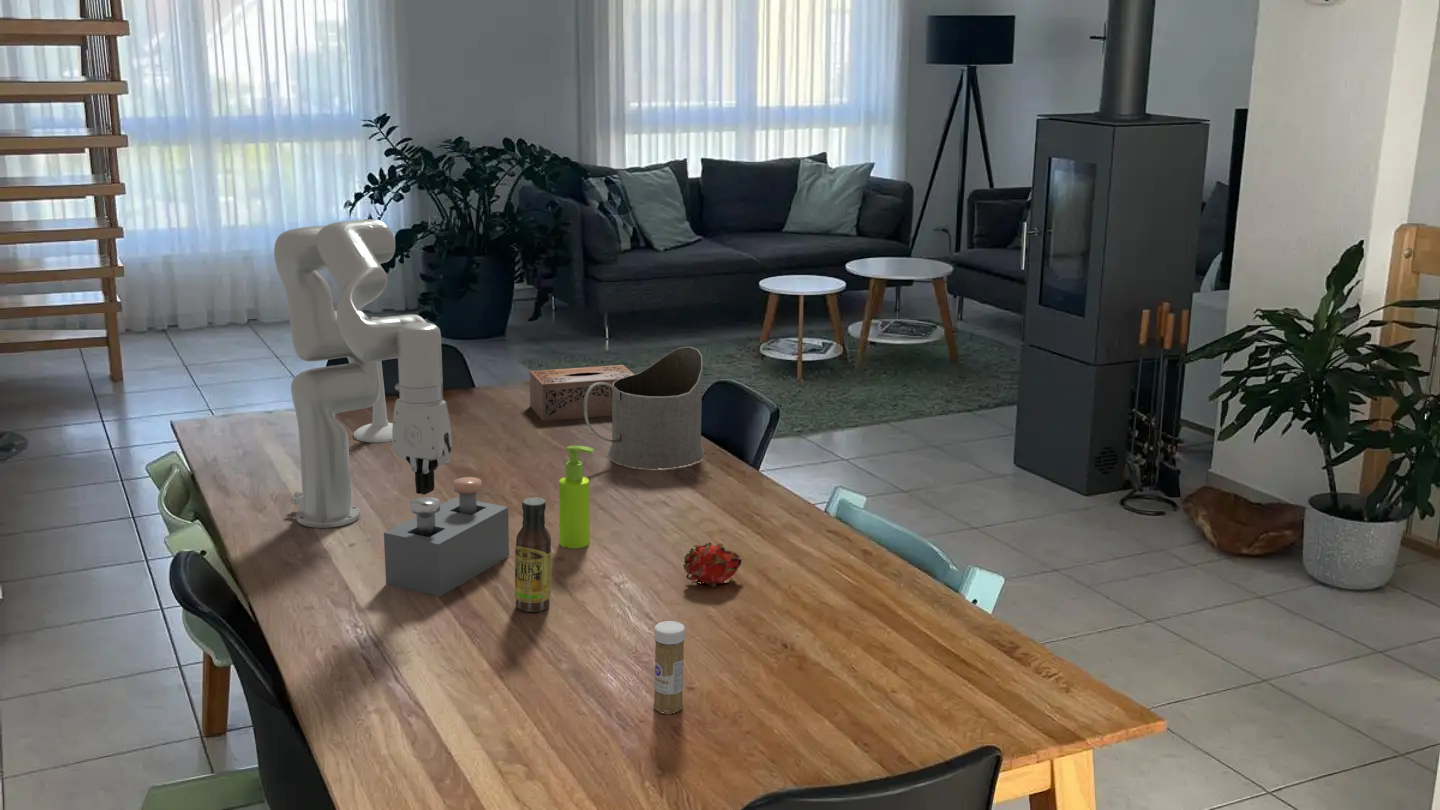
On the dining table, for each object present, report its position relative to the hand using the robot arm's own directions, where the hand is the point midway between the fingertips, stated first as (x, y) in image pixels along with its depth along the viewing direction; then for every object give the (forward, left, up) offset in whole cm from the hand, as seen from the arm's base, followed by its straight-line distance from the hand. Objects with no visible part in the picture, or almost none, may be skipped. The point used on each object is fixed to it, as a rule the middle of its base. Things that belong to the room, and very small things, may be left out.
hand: (425, 491), depth 247 cm
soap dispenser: (+14, +30, -18) cm, 37 cm away
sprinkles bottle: (+61, -22, -18) cm, 67 cm away
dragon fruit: (+46, +25, -18) cm, 55 cm away
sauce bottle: (+23, 0, -18) cm, 29 cm away
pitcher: (-1, +85, -18) cm, 86 cm away
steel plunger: (0, 0, -10) cm, 10 cm away
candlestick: (-66, +70, -18) cm, 98 cm away
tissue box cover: (-34, +114, -18) cm, 120 cm away
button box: (0, +7, -18) cm, 19 cm away
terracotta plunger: (0, +13, -10) cm, 16 cm away
